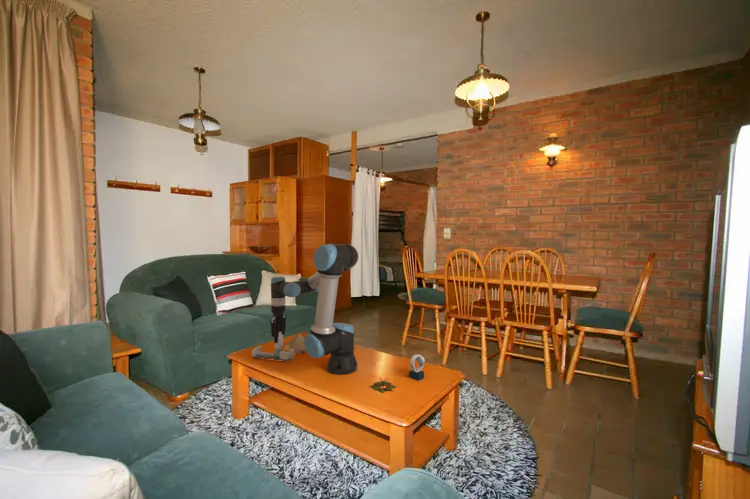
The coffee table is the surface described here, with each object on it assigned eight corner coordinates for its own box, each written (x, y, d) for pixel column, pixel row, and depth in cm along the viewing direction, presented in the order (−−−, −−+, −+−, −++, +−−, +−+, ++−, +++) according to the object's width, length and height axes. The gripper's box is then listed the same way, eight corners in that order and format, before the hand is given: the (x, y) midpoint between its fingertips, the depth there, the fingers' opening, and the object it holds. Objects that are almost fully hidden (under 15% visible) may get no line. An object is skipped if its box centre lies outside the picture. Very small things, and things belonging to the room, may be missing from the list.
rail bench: (294, 357, 186) (294, 348, 186) (288, 362, 179) (287, 353, 179) (259, 354, 192) (259, 345, 191) (252, 358, 185) (252, 349, 185)
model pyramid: (289, 356, 189) (288, 339, 189) (282, 347, 204) (281, 331, 204) (317, 351, 197) (317, 334, 197) (308, 343, 212) (308, 327, 212)
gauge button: (289, 352, 184) (289, 344, 184) (287, 353, 182) (287, 346, 182) (286, 351, 184) (286, 344, 184) (284, 353, 182) (284, 345, 182)
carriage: (284, 354, 186) (284, 331, 186) (279, 357, 182) (279, 333, 181) (278, 353, 187) (277, 330, 187) (273, 356, 183) (272, 333, 182)
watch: (426, 377, 160) (426, 354, 160) (416, 382, 155) (416, 358, 154) (417, 373, 164) (417, 351, 164) (406, 378, 159) (406, 355, 158)
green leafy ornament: (383, 379, 158) (383, 370, 158) (402, 388, 150) (402, 378, 149) (364, 387, 150) (364, 377, 150) (382, 397, 142) (382, 386, 141)
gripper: (279, 301, 192) (280, 342, 193) (263, 307, 177) (264, 351, 177) (291, 302, 190) (292, 343, 191) (276, 308, 175) (277, 352, 176)
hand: (278, 347), depth 184 cm, fingers closed on carriage, 3 cm apart
